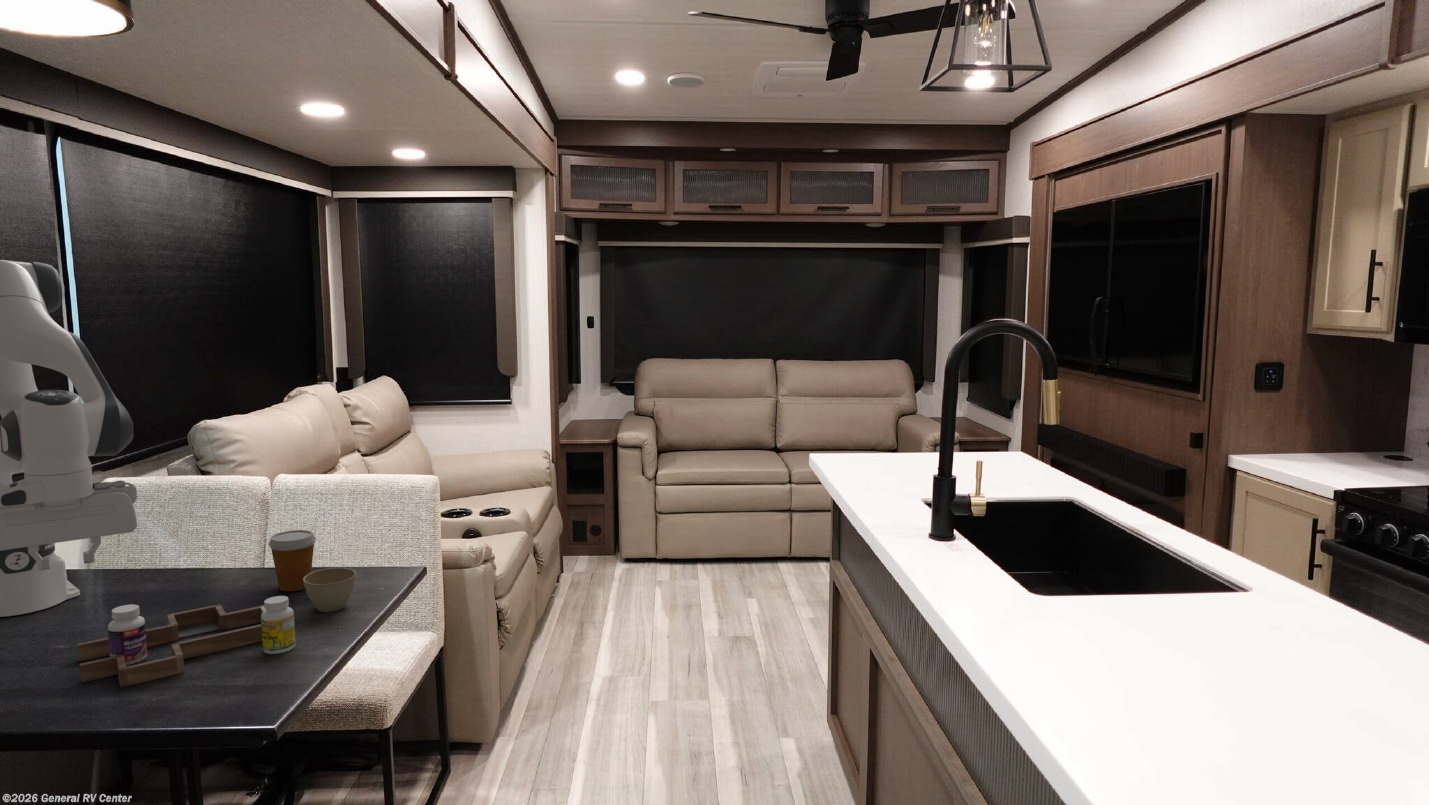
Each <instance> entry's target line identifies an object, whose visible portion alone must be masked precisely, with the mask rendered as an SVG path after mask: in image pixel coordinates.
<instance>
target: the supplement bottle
mask: <svg viewBox="0 0 1429 805" xmlns="http://www.w3.org/2000/svg"><path fill="white" fill-rule="evenodd" d="M289 605H290V602H289V597H288V596H285V595H277V596H271V597H268V598H266V599H265V600H264V602H263V606H264V608H265V609H266V610H265V611H264V612H263V613H262V615H261V622H260V624H261V625H262V641H261V642H262V649H263V652H264V653H266V654H269V655H279V654H283V653H288V652H289V651H292V649H294V648H295V646H296V630H295V614H294V613H295V612H294V610H293V608H291V607H290V606H289Z"/></svg>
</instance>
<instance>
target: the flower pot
mask: <svg viewBox="0 0 1429 805" xmlns="http://www.w3.org/2000/svg"><path fill="white" fill-rule="evenodd" d="M356 576H357V573H356V571H355V570H354V569H352V568H348V567H328V568H323V569H318V570H314V571H311V573H309V574H308V575H306V576H305V577H304V578H303V581H304V586H305V591H306V594H307V596H308V598H309V600H310V602H311V603H312V604H313V606H314V607H315V608H316V609H317V611H319V612H321V613H333V612H338V611H340V610H341V609H343V608H344V607H345V606H346V604H347V603H348V601H349V599H350V597H351V594H352V593H353V590H354V586H355V581H356Z"/></svg>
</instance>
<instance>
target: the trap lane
mask: <svg viewBox="0 0 1429 805" xmlns="http://www.w3.org/2000/svg"><path fill="white" fill-rule="evenodd" d="M265 610H266V609H265V608H264V605H259V606H254V607H251V608H250V607H249V608H246V609H240V610H236V611H231V612H226V611H225V609H224V608H223V606H222V604H220V603H219V604H213V605H209V606H204V607H200V608H199V607H198V608H195V609H194V608H193V609H189V610H184V611H179V612H174V613H169V614H166V620H167V625H162V626H158V627H153V628H148V629H145V630H146V644H147V648H148V647H153V646H157V645H163V644H166V643H171V642H174V643H171V656H168V657H163V658H159V659H154V660H150V661H146V662H142V663H135V664H131V665H126V664H125V659H124V655H123V654H122V655H118V656H113V657H110V649H109V636H108V637H104V638H99V639H94V640H90V641H86V642H85V641H84V642H79V643H77V654H78V655H77V656H78V662H80V663H79V671H80V681H81V682H80V683H85V682H86V683H87V682H90V681H94V680H99V679H104V678H108V677H112V676H117V675H118V681H119V686H120V688H124V687H129V686H133V685H136V684H141V683H144V682H150V681H153V680H158V679H163V678H166V677H170V676H175V675H179V674H183V673H185V661H184V660H185V659H190V658H194V657H195V658H196V657H199V656H204V655H208V654H212V653H216V652H221V651H225V650H229V649H233V648H234V649H235V648H239V647H243V646H246V645H249V644H250V645H251V644H254V643H255V644H256V643H259V642H263V641H262V625H261V615H262V613H263V612H264V611H265ZM258 623H260V624H258ZM255 624H256V625H255ZM250 625H252V626H250ZM244 626H247V627H244ZM240 627H243V628H240ZM235 628H238V629H235ZM231 629H232V630H231ZM226 630H228V631H226ZM217 631H223V632H218V633H215V634H209V635H206V636H202V637H195V638H193V639H187V640H183V641H179V640H182V639H186V638H191V637H194V636H200V635H203V634H208V633H212V632H217ZM176 641H178V642H176ZM107 656H109V657H107ZM103 657H104V658H103ZM105 657H106V658H105ZM97 658H100V659H97ZM93 659H96V660H93ZM89 660H91V661H89ZM84 661H85V662H84ZM81 662H82V663H81Z"/></svg>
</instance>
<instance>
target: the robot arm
mask: <svg viewBox="0 0 1429 805" xmlns="http://www.w3.org/2000/svg"><path fill="white" fill-rule="evenodd" d="M64 297H65V285H64V282H63V280H62V277H61V275H60V274H59V272H58V270H57V269H56V268H55V267H53V265H51V264H47V263H44V262H38V261H30V262H25V261H16V260H15V261H14V260H5V259H0V417H1V419H0V618H1V617H11V616H20V615H23V614H24V615H25V614H31V613H33V612H38V611H42V610H45V609H49V608H51V607H53V606H56V605H58V604H61V603H62V602H64V601H66V600H70V599H72V598H75V597H79V596H80V595H81V593H80V592H81V591H80V589H79V588H78V587H76V586H75V585H74V584H73V583H71V582H70V581H69V580H68V578H69V577H68V574H67V569H66V568H67V567H66V562H65V559H63V558H62V557H60V556H58V554H56V553H55V551H56V546H55V545H56V544H57V543H64V542H71V541H79V540H85V539H86V540H87V539H90V543H91V546H90V548H89V550H87V551H83V552H82V556H83V564H84V565H85V564H92V563H95V559H96V558H95V553H97V550H98V549H99V547H100V545H101V544H102V537H107V536H113V535H114V536H115V535H120V534H121V535H122V534H129V533H132V532H134V531H135V530H136V529H137V527H138V522H137V521H138V520H137V515H136V514H137V513H136V511H135V510H136V509H135V506H134V504H135V502H136V501H137V498H138V494H137V493H138V492H137V491H138V490H137V487H136V485H135V484H133V483H132V482H128V481H127V482H126V480H116V481H105V482H104V481H103V482H94V481H93V470H92V462H91V460H90V458H89V457H107V456H116V455H118V454H120V452H122V451H123V450H124V449H125V448H127V447H128V445H130V443H131V442H132V441H133V439H134V425H133V424H134V423H133V421H132V417H131V416H130V413H129V411H128V410H127V409H126V407H125V405H124V404H122V402H121V401H120V400H119V398H117V396H116V394H115V393H114V391H113V390H112V388H111V387H110V385H109V383H108V381H107V379H106V378H105V376H104V375H103V373H102V371H101V369H100V368H99V366H98V364H97V362H96V361H95V359H94V357H93V356H92V354H91V353H90V351H89V349H88V348H87V346H86V345H85V344H84V342H83V341H82V339H81V338H80V337H79V336H78V335H77V334H75V333H72V332H71V331H68V330H66V329H65V328H63V327H62V326H61V325H59V324H58V322H56V321H55V320H54V319H53V318H52V316H51V315H50V314H52V313H55V311H56V310H58V309H59V308H60V307H61V306H62V303H63V300H64ZM32 365H34V366H40V367H43V368H47V369H51V370H53V371H57V372H59V373H61V374H63V375H65V376H66V377H67V378H68V379H69V380H70V382H71V383H72V385H73V387H74V389H75V391H76V392H77V393H75V392H73V391H70V390H63V389H62V390H61V389H43V390H39V389H38V387H37V385H36V381H35V380H36V379H35V377H34V372H33V366H32ZM21 473H23V475H24V478H22V479H20V480H17V481H14V480H13V475H15V474H16V475H17V474H21Z"/></svg>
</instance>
